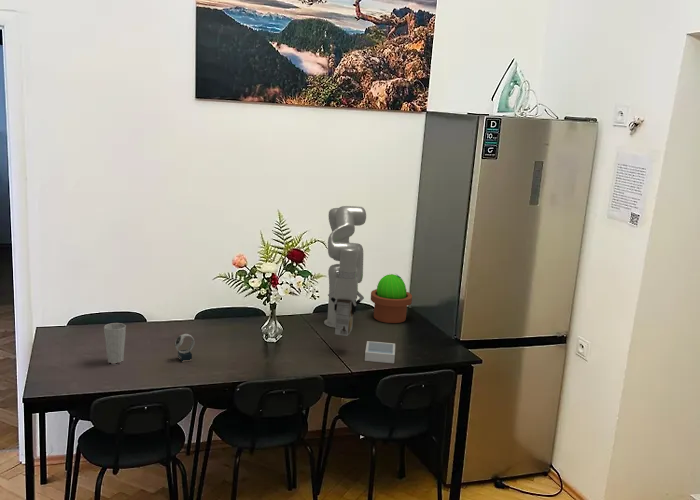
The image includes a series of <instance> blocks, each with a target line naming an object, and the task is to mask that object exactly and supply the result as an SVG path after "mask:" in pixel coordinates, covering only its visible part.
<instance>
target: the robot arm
mask: <svg viewBox="0 0 700 500" xmlns="http://www.w3.org/2000/svg"><path fill="white" fill-rule="evenodd" d="M366 221H367V211H366V209H365V208H364V207H363V206H357V205H355V206H354V205H352V206H351V205H342V206H340V207H335V208H330V209H329V211H328V223H329V225H330V228H331V233H330V234H329V236H328V239H327V254H328V256H329V258H330V259H332V260H334V261H336V262H339V263H336V264H331V265H330V266H329V267H328V271H327V272H328V273H327V275H328V294H327V296H328V307H327V319H325V320H324V321H323V322H324V325H325V326H327V327H330V328H334V329H335V324H336V306H337V300H349V301H352V302H353V308H352V314H353V316H354V315H355V313H357V306H358V304H360V303H361V302H362V301H363V300H364V299H365V297H364V295H362V293H361V292H359V288H358V287H359V284H360V283H362V281H363V277H364V247H363V246H362V244H360V243H356V242H355V243H354V242H350V237H352V236H353V235H354V233H355V229H356V227H355V226H359V227H360V226H362V225H364V224H365V223H366ZM358 297H359V298H358Z"/></svg>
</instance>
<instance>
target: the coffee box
mask: <svg viewBox="0 0 700 500" xmlns="http://www.w3.org/2000/svg"><path fill="white" fill-rule="evenodd" d="M352 308H353V302H352V301H349V300H337V306H336V324H335V328H334V335H338V336H345V337H346V336H347V337H349V335H350V334H351V332H352V330H353V324H354V315H353V314H352Z"/></svg>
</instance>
